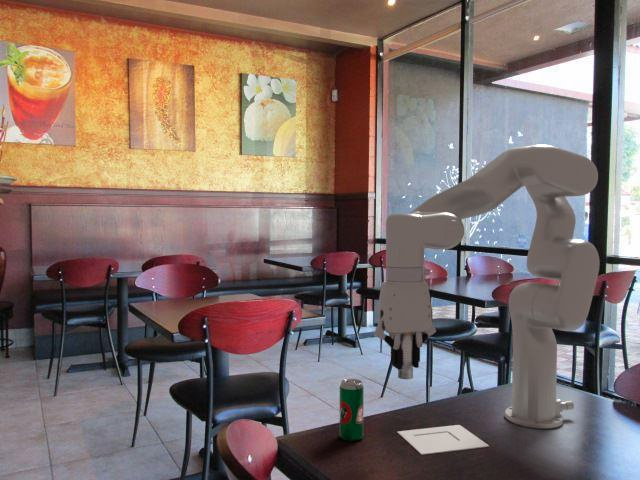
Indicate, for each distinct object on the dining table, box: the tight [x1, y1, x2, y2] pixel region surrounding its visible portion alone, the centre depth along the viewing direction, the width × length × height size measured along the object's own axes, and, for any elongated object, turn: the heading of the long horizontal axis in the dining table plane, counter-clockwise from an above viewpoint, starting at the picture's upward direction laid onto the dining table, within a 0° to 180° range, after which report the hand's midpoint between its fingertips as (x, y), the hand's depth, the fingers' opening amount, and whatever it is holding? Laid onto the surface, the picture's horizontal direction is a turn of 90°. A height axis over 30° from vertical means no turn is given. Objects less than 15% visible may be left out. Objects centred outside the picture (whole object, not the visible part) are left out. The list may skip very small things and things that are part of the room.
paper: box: [397, 424, 490, 456], centre depth 118 cm, size 15×12×1 cm
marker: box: [397, 333, 414, 380], centre depth 112 cm, size 3×3×11 cm
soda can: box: [339, 378, 365, 442], centre depth 119 cm, size 5×5×12 cm
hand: (405, 366), depth 112 cm, fingers closed on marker, 3 cm apart
